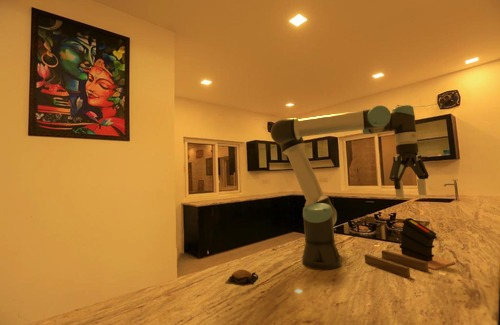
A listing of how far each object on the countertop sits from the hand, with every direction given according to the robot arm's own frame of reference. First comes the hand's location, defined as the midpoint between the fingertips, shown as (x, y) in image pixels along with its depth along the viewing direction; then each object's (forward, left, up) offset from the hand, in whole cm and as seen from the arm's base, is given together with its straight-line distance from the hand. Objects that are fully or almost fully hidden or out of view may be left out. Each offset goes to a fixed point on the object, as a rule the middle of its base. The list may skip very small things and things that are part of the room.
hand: (411, 196), depth 95 cm
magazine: (0, 0, -24) cm, 24 cm away
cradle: (-14, 0, -25) cm, 28 cm away
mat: (0, 0, -25) cm, 25 cm away
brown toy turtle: (-68, +18, -26) cm, 75 cm away
